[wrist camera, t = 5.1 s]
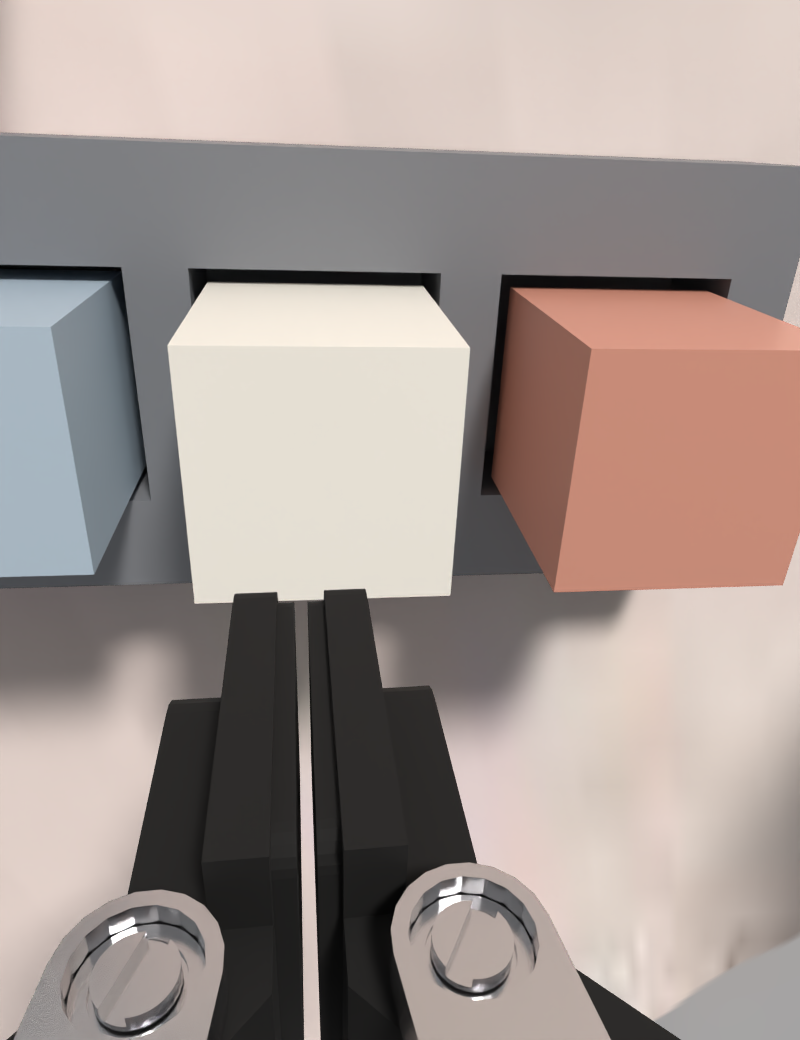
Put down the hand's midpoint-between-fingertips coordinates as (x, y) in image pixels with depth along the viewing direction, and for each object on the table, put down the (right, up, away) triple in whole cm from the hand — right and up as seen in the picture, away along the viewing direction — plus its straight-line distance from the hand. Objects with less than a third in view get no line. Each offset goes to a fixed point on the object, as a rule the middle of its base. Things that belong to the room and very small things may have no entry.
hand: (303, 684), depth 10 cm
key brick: (+7, +6, +12) cm, 15 cm away
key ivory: (-1, +6, +11) cm, 13 cm away
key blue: (-9, +6, +11) cm, 16 cm away
